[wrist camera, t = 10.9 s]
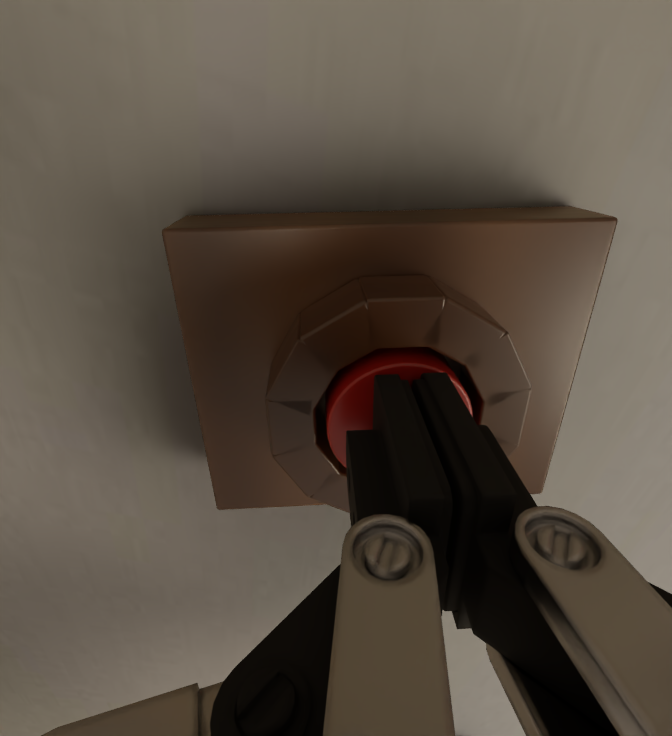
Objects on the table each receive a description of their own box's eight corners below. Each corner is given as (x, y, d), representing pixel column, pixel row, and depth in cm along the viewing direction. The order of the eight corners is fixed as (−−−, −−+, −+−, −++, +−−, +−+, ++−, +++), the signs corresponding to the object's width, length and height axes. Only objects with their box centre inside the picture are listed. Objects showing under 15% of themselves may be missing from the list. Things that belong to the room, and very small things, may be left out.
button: (326, 446, 13) (328, 488, 11) (322, 335, 11) (324, 366, 10) (445, 440, 13) (464, 481, 11) (460, 330, 11) (483, 360, 10)
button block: (228, 466, 16) (204, 557, 13) (184, 214, 12) (131, 245, 8) (515, 453, 16) (571, 537, 13) (571, 205, 12) (676, 230, 9)
